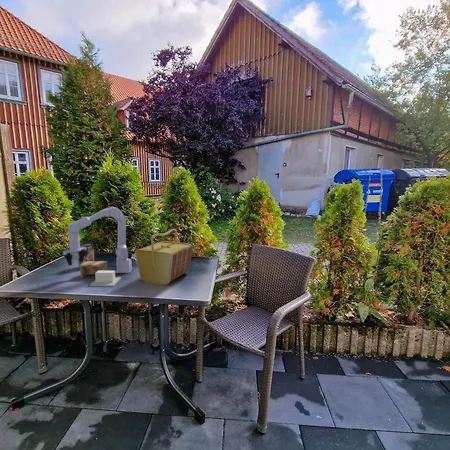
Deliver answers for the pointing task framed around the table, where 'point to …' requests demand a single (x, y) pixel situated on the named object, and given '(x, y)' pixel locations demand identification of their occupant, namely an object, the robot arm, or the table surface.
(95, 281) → the pale green panel
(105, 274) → the cream block
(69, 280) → the table surface
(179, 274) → the picnic basket
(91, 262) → the wooden box
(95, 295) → the table surface
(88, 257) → the coffee box
